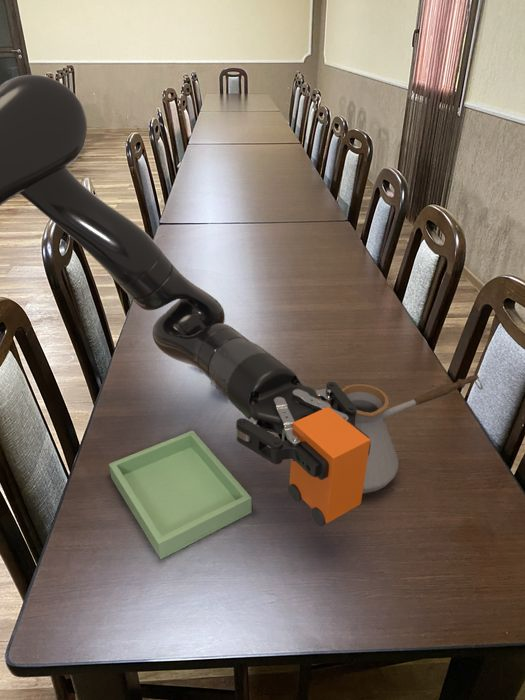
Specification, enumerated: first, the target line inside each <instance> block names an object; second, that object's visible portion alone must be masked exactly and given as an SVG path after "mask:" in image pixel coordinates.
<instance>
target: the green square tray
mask: <svg viewBox="0 0 525 700" xmlns="http://www.w3.org/2000/svg"><path fill="white" fill-rule="evenodd" d="M108 466H109V472H110V478H111V480H112V482H113V483H114V485H115V487H116V488H117V490H118V491H119V494H120V495H121V496H122V499H123V500H124V502H125V504H126V505H127V507H128V508H129V510H130V511H131V513H132V515H133V516H134V518H135V520H136V521H137V523H138V525H139V526H140V528H141V530H142V531H143V533H144V535H145V536H146V538H147V540H148V541H149V543H150V544H151V546H152V548H153V549H154V551H155V553H156V554H157V557H158V558H159V559H160V560H163V559H164V558H167V557H168V556H170V555H172V554H174V553H176V552H178V551H180V550H182V549H184V548H186V547H188V546H190V545H192V544H193V543H195V542H197V541H199V540H201V539H203V538H205V537H207V536H209V535H211V534H213V533H215V532H217V531H219V530H221V529H223V528H225V527H227V526H228V525H230V524H232V523H234V522H236V521H238V520H240V519H242V518H244V517H246V516H248V515H250V514H252V512H253V511H252V504H253V503H252V502H253V501H252V500H253V499H252V496H251V495H250V494H249V493H248V492H247V491H246V489H245V487H243V486H242V485H241V484H240V482H238V480H237V479H236V478H235V477H234V476H233V474H232V473H230V471H229V470H228V469H227V468H226V467H225V466H224V464H223V463H222V462H221V461H220V459H219V458H218V457H217V456H216V455H215V454H214V453H213V452H212V450H211V449H210V448H209V447H208V446H207V445H206V443H204V441H203V440H202V439H201V438H200V436H198V434H196V433H195V431H194V430H190V431H187V432H185V433H183V434H180V435H178V436H175V437H172V438H170V439H167V440H165V441H163V442H160V443H157V444H155V445H152V446H150V447H147V448H144V449H142V450H140V451H138V452H135V453H133V454H130V455H128V456H125V457H122V458H119V459H117V460H115V461H112V462H110V463H108Z"/></svg>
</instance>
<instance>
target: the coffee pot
mask: <svg viewBox="0 0 525 700" xmlns="http://www.w3.org/2000/svg"><path fill="white" fill-rule="evenodd" d="M477 381H478V382H477ZM473 383H475V386H476V387H477V388H478V389H479V390H483V389H484V386H483V384H482V381H481V380H480V377H479V375H478V374H473V375H469V376H467V377H466V378H464V379H462V378H458V379H457V381H456V382H451V383H447V384H444V385H439V386H438V387H436V388H434V389H432V390H429V391H428V392H425V393H423V394H421V395H418V396H417V397H415V398H413V399H411V400H408V401H405V402H403V403H401V404H398V405H395V406H392V407H390V408H388V407H389V405H390V400H389V397H388V396H387V394H386V393H385V392H384V391H383V390H381V389H380V388H378V387H376V386H373V385H370V384H365V383H354V384H349V385H346V386H344V387H343V388H341V390H342V391H343V392H344V393H345V394H346V396H347V397H348V398H349V399H350V400H351V402H352V403H353V404H354V405H355V406H356V408H357V413H356V418H355V426H356V427H357V428H358V429H360V430H361V431H362V432H363V433H365V434H366V435H367V436H368V437H369V439H370V444H371V446H370V452H369V456H368V460H367V466H366V473H365V480H364V486H363V493H362V495H363V494H367V493H372V492H373V493H374V492H377V491H378V490H381V489H383V488H385V487H386V486H387V485H388V484H390V482H391V481H393V479H394V478H395V477H396V475H397V472H398V470H399V458H398V455H397V452H396V449H395V447H394V444H393V440H392V438H391V435H390V432H389V430H388V429H389V428H388V427H387V424H386V422H385V419H387V418H389V417H392V416H394V415H396V414H398V413H400V412H403V411H405V410H408V409H410V408H412V407H414V406H418V405H422V404H424V403H428V402H430V401H433V400H435V399H438V398H441V397H442V398H443V397H444V396H446V395H449V394H450V393H452V392H454V391H455V390H457V389H459V388H460V389H463V388H465V387H466V385H468V384H473Z"/></svg>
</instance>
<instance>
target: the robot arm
mask: <svg viewBox="0 0 525 700" xmlns="http://www.w3.org/2000/svg"><path fill="white" fill-rule="evenodd" d="M87 135H88V121H87V116H86V111H85V109H84V106H83V105H82V102H81V100H80V99H79V98H78V97H77V95H76V94H75V93H74V92H73V91H72V90H71V89H70V88H69V87H68V86H66V85H65V84H63V82H62V83H61V82H60V81H59V80H56V79H54V78H51V77H48V76H44V75H41V74H24V75H18V76H17V75H16V76H15V77H11V78H10V79H8V80H6V81H4V82H2V83H1V84H0V207H1V206H3V205H4V204H6V203H7V202H9V200H11V199H12V198H14V197H15V196H17V195H18V194H19V195H21V196H22V197H23V198H24V199H25V200H27V201H28V202H29V203H31V205H32V206H34V207H35V208H36V209H38V210H39V211H40V212H41V213H42V214H43V215H45V217H47V218H48V219H49V220H51V221H52V222H53V223H54V224H56V225H57V226H58V227H59V228H60V229H61V230H62V231H64V232H65V233H66V234H67V235H68V236H70V237H71V238H72V239H73V240H74V241H75V242H76V243H77V244H78V245H79V246H81V248H83V249H84V250H85V251H86V252H87V253H88V254H89V255H90V256H91V257H92V258H93V259H94V261H95V260H96V262H97V263H98V264H99V265H100V266H101V267H102V268H103V269H104V270H105V271H106V272H107V273H108V274H109V275H110V277H111V278H112V279H113V280H114V281H115V282H116V284H118V286H119V287H120V288H121V289H122V290H123V291H124V292H125V293H126V294H127V295H128V296H129V298H131V300H132V301H133V302H134V303H135V304H136V305H137V306H138V307H140V308H141V309H142V310H145V311H155V310H159V309H160V308H163V307H165V306H167V305H169V304H170V303H172V302H174V304H173V305H172V306H170V308H169V309H167V310H166V311H165V312H164V313H163V314H162V315H161V316H159V318H158V319H157V320H156V321H155V322H154V324H153V327H152V330H151V331H152V333H151V334H152V338H153V341H154V343H155V345H156V347H157V348H158V349H159V350H160V351H161V352H162V353H164V354H165V355H166V356H168V357H169V358H172V359H174V360H176V361H178V362H181V363H184V364H187V365H190V366H192V367H194V368H196V369H198V370H200V372H201V373H202V374H204V375H205V377H207V378H208V379H209V381H210V382H213V383H214V384H215V385H216V387H217V388H218V389H217V388H216V387H215V388H216V389H217V390H218V391H219V392H220V393H221V395H223V396H224V397H225V398H226V399H227V400H228V401H229V403H231V404H232V405H233V407H235V408H236V409H237V410H238V411H239V412H240V413H242V414H243V415H244V416H245V417H244V418H243V417H241V418H238V419H237V420H236V424H235V425H236V442H237V443H239V444H240V445H241V446H244V447H245V448H247V449H249V450H250V451H252V452H253V453H255V454H257V455H258V456H260V457H261V458H263V459H265V460H266V461H268V462H270V463H272V464H273V465H280V464H281V463H283V460H290V462H291V461H296V462H297V463H298V464H299V465H300V466H301V467H302V468H303V469H304V470H305V471H307V473H308V474H309V475H311V476H313V477H318V478H319V479H320V480H323V479H325V478H327V477H328V472H329V463H328V461H327V460H326V459H325V458H324V457H323V456H322V455H320V454H319V453H318V452H317V451H316V450H315V449H314V448H313V447H311V446H310V445H309V444H308V443H307V442H306V441H305V442H301V437H300V435H299V434H298V433H297V432H296V431H294V430H293V428H292V427H293V422H295V421H297V420H299V419H302V418H304V417H306V416H308V415H311V414H313V413H315V412H318V411H320V410H322V409H324V408H327V407H329V408H331V409H332V410H333V411H335V412H336V413H337V414H338V415H340V416H341V417H342V418H343V419H345V420H346V421H347V422H349V423H350V424H351V425H352V426H354V427H355V428H356V429H357V430H359V431H360V432H361V433H363V432H362V431H361V430H360V429H358V428H357V427H356V426H355V418H356V413H357V408H356V406H355V405H354V404H353V403H352V402H351V400H350V399H349V398H348V397H347V396H346V394H345V393H344V392H343V391H342V390H341V389H342V388H341V387H340V386H339V385H338V383H336V382H335V381H328V382H327V383H326V387H325V388H322V389H317V390H315V389H314V388H312V387H311V386H307V385H305V384H302V382H301V381H300V379H299V378H298V377H297V375H296V373H295V372H294V371H293V370H291V369H290V368H289V367H288V366H287V365H285V364H284V363H282V362H281V361H280V360H278V359H277V358H276V357H275V356H273V355H272V354H270V353H269V352H268V351H267V350H265V348H263V347H262V346H260V345H258V344H256V343H254V342H252V341H250V339H248V338H247V337H246V336H244V335H243V334H242V333H240V332H239V331H238V330H236V329H235V328H233V327H232V326H231V325H229V324H226V323H225V321H226V320H225V319H226V317H225V316H226V315H225V311H224V307H223V306H222V304H221V303H220V302H219V301H218V299H216V298H215V297H214V296H212V295H211V294H209V293H208V292H206V291H205V290H203V289H202V288H200V287H198V286H197V285H195V283H193V282H191V281H190V280H189V279H187V278H186V277H185V276H184V275H183V274H182V273H181V272H180V271H179V270H178V269H177V268H176V267H175V265H174V264H173V263H172V262H171V260H170V259H169V258H168V257H167V255H166V254H165V253H164V252H163V250H162V249H161V248H160V247H159V245H158V244H157V243H156V242H155V241H154V239H153V238H152V237H151V236H150V235H149V234H148V233H147V232H146V231H144V229H143V228H141V227H140V226H139V225H138V224H136V223H135V222H133V221H132V220H131V219H129V218H128V217H126V216H125V215H123V214H122V213H121V212H119V211H118V210H116V209H115V208H113V207H112V206H110V205H108V204H107V203H106V202H104V201H103V200H102V199H100V198H99V197H97V196H96V195H95V194H94V193H93V192H92V191H90V190H89V189H88V188H87V187H86V186H84V185H83V183H81V182H80V181H79V179H77V177H76V176H75V175H74V174H73V173H72V172H71V171H70V170H69V168H68V167H69V166H70V165H72V163H74V162H75V161H76V160H77V158H78V157H79V155H80V154H81V153H82V151H83V149H84V146H85V143H86V140H87ZM175 301H176V302H175ZM273 433H274V434H273ZM363 434H364V435H365V436H366V437H368V436H367V435H366V434H365V433H363ZM368 438H369V437H368ZM370 446H371V444H370ZM370 446H369V452H370ZM368 456H369V453H368Z"/></svg>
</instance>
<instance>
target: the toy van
mask: <svg viewBox="0 0 525 700" xmlns="http://www.w3.org/2000/svg"><path fill="white" fill-rule="evenodd" d="M292 428H293V430H294V431H296V432H297V433H298V434H299V435H300V437H301V442H305V441H306V442H307V443H308V444H309V445H310V446H311V447H313V448H314V449H315V450H316V451H317V452H318V453H319V454H320V455H322V456H323V457H324V458H325V459H326V460H327V461H328V463H329V472H328V477H327V478H325V479H323V480H320V479H319V478H318V477H313V476H311V475H309V474H308V473H307V471H305V470H304V469H303V468H302V467H301V466H300V465H299V464H298V463H297V462H296V461H291V460H290V468H289V469H290V470H289V485H288V493H289V495H290V498H291V499H292V500H293V501H294V502H296V503H299V502H302V501H304V502H305V504H307V505H308V506H309V508H310V509H311V511H310V513H311V514H310V515H311V517H312V520H313V522H314V523H315V524H316V525H317V526H318V527H324V526H326V525H327V524H328V523H330V522H333V521H334V520H336V519H337V518H339V517H341V516H343V515H344V514H346V513H348V512H350V511H352V510H353V509H355V508H356V507H358V506H360V505H361V504H362V502H363V500H362V499H363V494H364V493H363V486H364V480H365V473H366V466H367V460H368V453H369V446H370V439H369V438H368V437H366V436H365V435H364V434H363V433H361V432H360V431H359V430H357V429H356V428H355V427H354V426H352V425H351V424H350V423H349V422H347V421H346V420H345V419H343V418H342V417H341V416H340V415H338V414H337V413H336V412H335V411H333V410H332V409H331V408H329V407H327V408H324V409H322V410H320V411H318V412H315V413H313V414H311V415H308V416H306V417H304V418H302V419H299V420H297V421H295V422H293V427H292ZM362 493H363V494H362Z"/></svg>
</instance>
